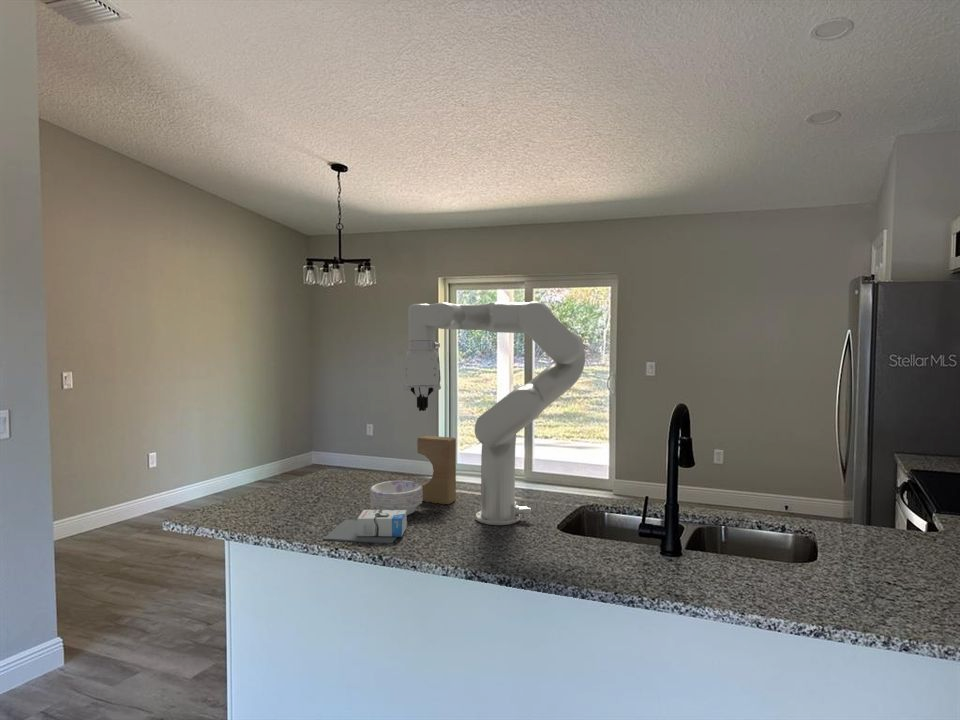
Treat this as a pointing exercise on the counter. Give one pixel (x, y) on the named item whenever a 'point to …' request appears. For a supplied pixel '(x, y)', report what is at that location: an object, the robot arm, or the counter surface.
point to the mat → (355, 534)
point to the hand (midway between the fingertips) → (422, 410)
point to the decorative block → (439, 468)
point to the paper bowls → (396, 495)
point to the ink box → (382, 523)
